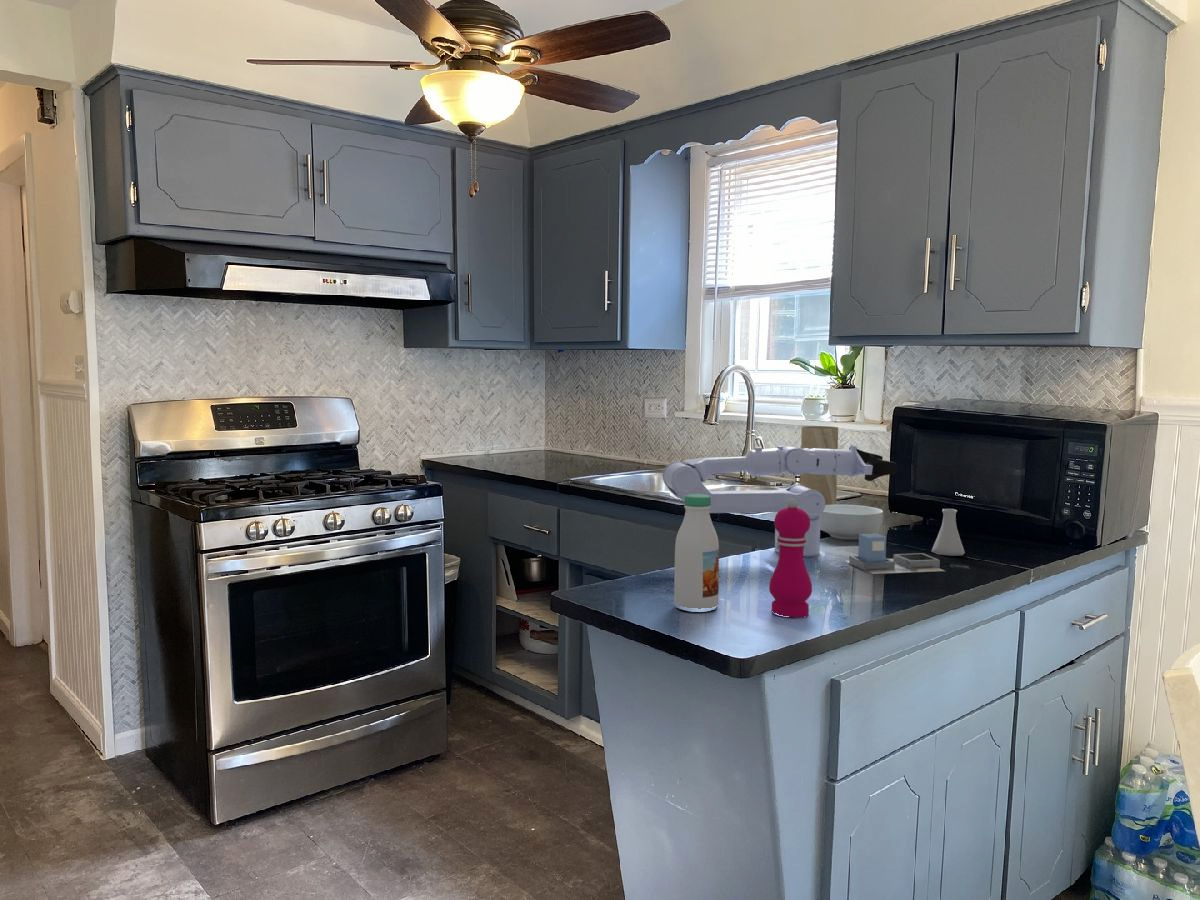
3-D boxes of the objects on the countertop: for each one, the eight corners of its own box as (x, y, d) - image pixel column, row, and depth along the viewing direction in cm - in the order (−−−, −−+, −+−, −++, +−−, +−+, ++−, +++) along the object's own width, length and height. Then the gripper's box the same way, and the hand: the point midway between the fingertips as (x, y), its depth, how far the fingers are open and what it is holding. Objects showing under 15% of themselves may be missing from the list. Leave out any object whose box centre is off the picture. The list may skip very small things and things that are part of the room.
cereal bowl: (896, 538, 219) (897, 510, 218) (851, 546, 209) (852, 516, 209) (842, 527, 233) (843, 501, 232) (797, 534, 223) (798, 506, 223)
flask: (968, 557, 198) (970, 513, 197) (933, 556, 199) (935, 511, 198) (961, 550, 205) (963, 507, 204) (928, 549, 206) (930, 506, 205)
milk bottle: (687, 616, 152) (689, 499, 150) (666, 604, 159) (667, 493, 157) (726, 611, 155) (728, 497, 153) (704, 600, 162) (705, 491, 160)
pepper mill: (803, 621, 148) (806, 503, 146) (762, 615, 152) (764, 499, 150) (817, 611, 154) (820, 497, 152) (777, 605, 158) (780, 494, 156)
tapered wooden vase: (791, 515, 251) (794, 427, 249) (815, 511, 257) (817, 425, 255) (820, 520, 243) (822, 429, 241) (843, 516, 249) (846, 427, 247)
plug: (868, 569, 181) (869, 538, 180) (858, 564, 186) (858, 533, 185) (886, 569, 182) (887, 537, 181) (875, 563, 186) (876, 533, 186)
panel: (869, 578, 178) (870, 566, 178) (843, 565, 190) (843, 553, 189) (946, 575, 181) (947, 562, 180) (915, 562, 192) (916, 550, 192)
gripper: (846, 450, 189) (906, 453, 191) (821, 437, 203) (877, 440, 205) (842, 483, 190) (902, 485, 192) (817, 468, 204) (873, 470, 206)
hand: (889, 464), depth 199 cm, fingers open, 7 cm apart
